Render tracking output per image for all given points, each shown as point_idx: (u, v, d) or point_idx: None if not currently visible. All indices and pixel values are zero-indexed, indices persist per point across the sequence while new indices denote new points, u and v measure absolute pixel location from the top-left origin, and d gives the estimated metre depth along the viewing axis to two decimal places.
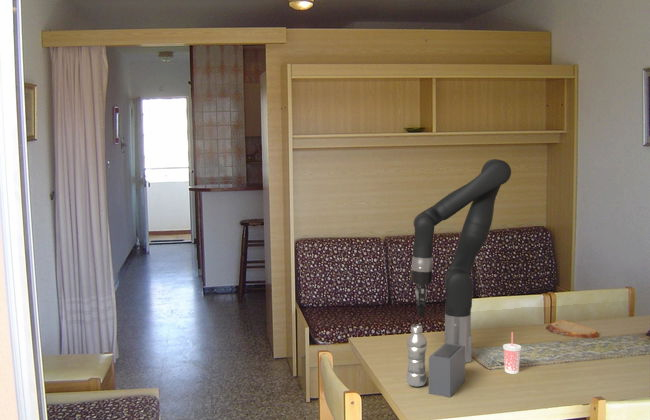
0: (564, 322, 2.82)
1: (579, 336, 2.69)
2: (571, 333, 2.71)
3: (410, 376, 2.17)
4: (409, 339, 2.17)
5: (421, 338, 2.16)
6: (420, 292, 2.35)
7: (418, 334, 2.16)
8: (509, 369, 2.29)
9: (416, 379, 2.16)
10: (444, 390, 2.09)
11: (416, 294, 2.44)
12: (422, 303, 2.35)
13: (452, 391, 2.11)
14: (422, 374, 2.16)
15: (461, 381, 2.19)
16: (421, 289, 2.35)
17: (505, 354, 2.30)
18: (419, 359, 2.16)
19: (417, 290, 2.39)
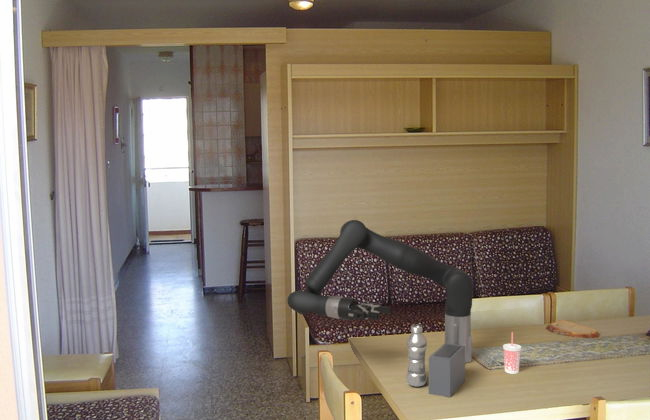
0: (564, 322, 2.82)
1: (579, 336, 2.69)
2: (571, 333, 2.71)
3: (410, 376, 2.17)
4: (409, 339, 2.17)
5: (421, 338, 2.16)
6: (351, 317, 2.21)
7: (418, 334, 2.16)
8: (509, 369, 2.29)
9: (416, 379, 2.16)
10: (444, 390, 2.09)
11: None
12: (361, 316, 2.18)
13: (452, 391, 2.11)
14: (422, 374, 2.16)
15: (461, 381, 2.19)
16: (348, 315, 2.21)
17: (505, 354, 2.30)
18: (419, 359, 2.16)
19: None
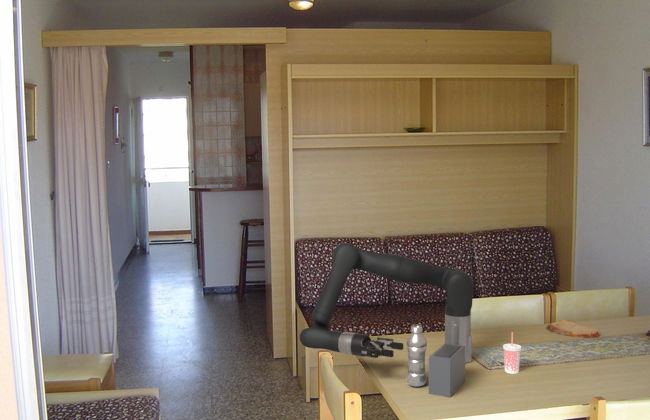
0: (564, 322, 2.82)
1: (580, 336, 2.69)
2: (572, 333, 2.71)
3: (410, 376, 2.17)
4: (409, 339, 2.17)
5: (421, 338, 2.16)
6: (364, 354, 2.20)
7: (418, 334, 2.16)
8: (509, 369, 2.29)
9: (416, 379, 2.16)
10: (444, 390, 2.09)
11: None
12: (375, 353, 2.18)
13: (452, 391, 2.11)
14: (422, 374, 2.16)
15: (461, 381, 2.19)
16: (362, 352, 2.20)
17: (505, 354, 2.30)
18: (419, 359, 2.16)
19: None
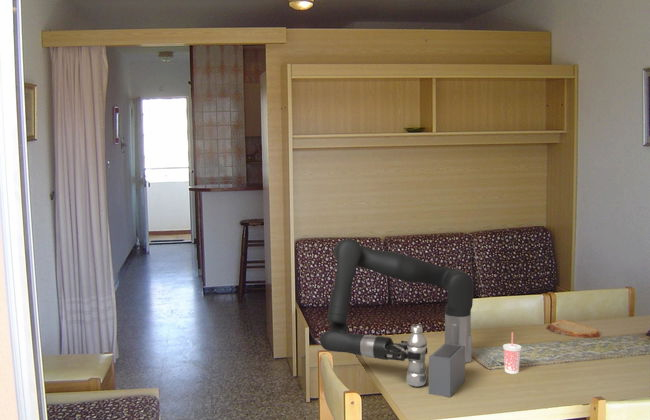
0: (565, 322, 2.83)
1: (580, 336, 2.69)
2: (572, 333, 2.71)
3: (410, 376, 2.17)
4: (409, 339, 2.16)
5: (421, 338, 2.16)
6: (390, 358, 2.15)
7: (418, 334, 2.16)
8: (509, 369, 2.29)
9: (416, 379, 2.16)
10: (444, 390, 2.09)
11: None
12: (402, 356, 2.14)
13: (452, 391, 2.11)
14: (422, 374, 2.16)
15: (461, 381, 2.19)
16: (387, 356, 2.16)
17: (505, 354, 2.30)
18: None
19: None
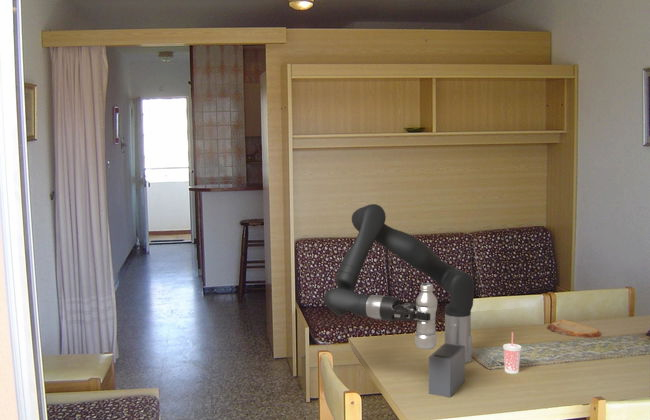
0: (565, 322, 2.83)
1: (581, 335, 2.70)
2: (573, 333, 2.71)
3: (419, 338, 2.02)
4: (418, 298, 2.01)
5: (431, 298, 2.00)
6: (398, 318, 2.00)
7: (428, 293, 2.01)
8: (509, 368, 2.29)
9: (426, 341, 2.01)
10: (444, 390, 2.09)
11: None
12: (410, 316, 1.99)
13: (452, 391, 2.11)
14: (432, 336, 2.01)
15: (461, 381, 2.19)
16: (394, 316, 2.01)
17: (505, 354, 2.30)
18: (429, 320, 2.01)
19: None
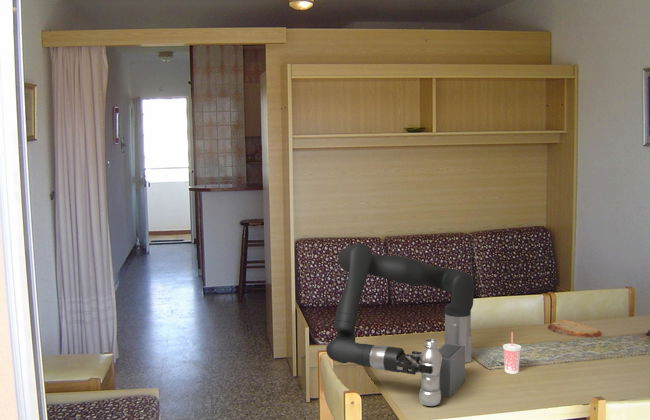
0: (566, 321, 2.83)
1: (582, 335, 2.70)
2: (574, 332, 2.71)
3: (424, 394, 2.01)
4: (423, 354, 2.01)
5: (436, 354, 2.00)
6: (400, 370, 1.99)
7: (433, 349, 2.00)
8: (509, 369, 2.29)
9: (430, 398, 2.00)
10: (444, 390, 2.09)
11: (420, 364, 2.06)
12: (412, 369, 1.97)
13: (452, 391, 2.11)
14: (436, 392, 2.00)
15: (461, 381, 2.19)
16: (397, 368, 2.00)
17: (505, 354, 2.30)
18: (433, 377, 2.00)
19: None
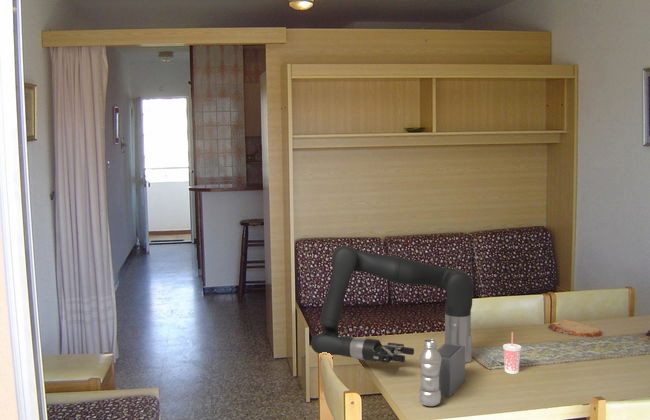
0: (566, 321, 2.83)
1: (583, 335, 2.70)
2: (575, 332, 2.72)
3: (423, 395, 2.01)
4: (422, 355, 2.00)
5: (435, 354, 1.99)
6: (376, 359, 2.23)
7: (432, 350, 2.00)
8: (509, 369, 2.29)
9: (430, 398, 2.00)
10: (444, 390, 2.09)
11: None
12: (387, 358, 2.21)
13: (452, 391, 2.11)
14: (436, 393, 2.00)
15: (461, 381, 2.19)
16: (374, 358, 2.24)
17: (505, 354, 2.30)
18: (433, 377, 2.00)
19: None
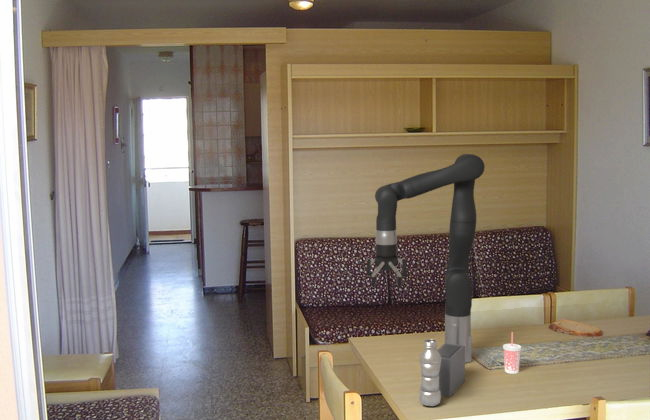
0: (566, 321, 2.84)
1: (584, 335, 2.70)
2: (575, 332, 2.72)
3: (423, 395, 2.01)
4: (422, 355, 2.00)
5: (435, 354, 1.99)
6: None
7: (432, 350, 2.00)
8: (509, 369, 2.29)
9: (430, 398, 2.00)
10: (444, 390, 2.09)
11: None
12: None
13: (452, 391, 2.11)
14: (436, 393, 2.00)
15: (461, 381, 2.19)
16: (367, 259, 2.38)
17: (505, 354, 2.30)
18: (433, 377, 2.00)
19: None
